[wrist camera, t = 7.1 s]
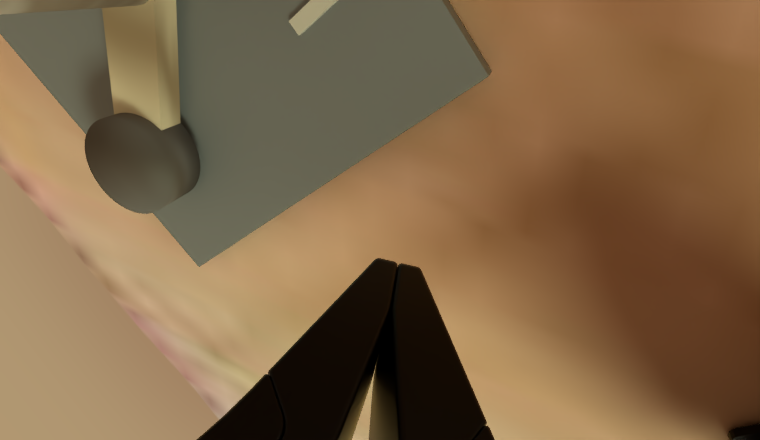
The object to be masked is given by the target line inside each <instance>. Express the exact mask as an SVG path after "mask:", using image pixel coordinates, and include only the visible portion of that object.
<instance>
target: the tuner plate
mask: <svg viewBox="0 0 760 440" xmlns="http://www.w3.org/2000/svg"><path fill="white" fill-rule="evenodd" d="M176 11H177V39H178V67H179V94H180V122H181V124H182V125H183V126H184V127H185V129H186V130H187V131H188V133H189V134H190V136H191V137H192V139H193V141H194V143H195V145H196V148H197V151H198V154H199V159H200V176H199V179H198V182H197V184H196V186H195V187H194V188H193V189H192V190H191V191H190V192H188V193H187V194H185V195H183V196H182V197H180V198H178V199H177V200H175V201H173V202H171V203H170V204H168V205H166V206H165V207H163V208H161V209H160V210H158V211H156V212H153V214H154V215H155V216H156V217H157V218H158V219H159V221H160V222H161V223H162V224H163V225H164V226H165V228H166V229H167V230H168V231H169V232H170V233H171V235H172V236H173V237H174V238H175V239H176V241H177V242H178V243H179V244H180V245H181V246H182V248H183V249H184V250H185V251H186V252H187V253H188V255H189V256H190V257H191V258H192V259H193V260H194V262H195V263H196V264H197V265H198V266H199V267H200V266H201V265H203V264H204V263H206V262H207V261H209V260H210V259H212V258H213V257H215V256H217V255H218V254H220V253H221V252H223V251H224V250H226V249H227V248H229V247H230V246H232V245H233V244H235V243H236V242H238V241H239V240H241V239H242V238H244V237H245V236H247V235H248V234H250V233H251V232H253V231H254V230H256V229H258V228H259V227H261V226H262V225H264V224H265V223H267V222H268V221H270V220H271V219H273V218H274V217H276V216H277V215H279V214H280V213H282V212H283V211H285V210H286V209H288V208H289V207H291V206H292V205H294V204H295V203H297V202H299V201H300V200H302V199H303V198H305V197H306V196H308V195H309V194H311V193H312V192H314V191H315V190H317V189H318V188H320V187H321V186H323V185H324V184H326V183H327V182H329V181H330V180H332V179H333V178H335V177H336V176H338V175H340V174H341V173H343V172H344V171H346V170H347V169H349V168H350V167H352V166H353V165H355V164H356V163H358V162H359V161H361V160H362V159H364V158H365V157H367V156H368V155H370V154H371V153H373V152H374V151H376V150H377V149H379V148H381V147H382V146H384V145H385V144H387V143H388V142H390V141H391V140H393V139H394V138H396V137H397V136H399V135H400V134H402V133H403V132H405V131H406V130H408V129H409V128H411V127H412V126H414V125H415V124H417V123H418V122H420V121H422V120H423V119H425V118H426V117H428V116H429V115H431V114H432V113H434V112H435V111H437V110H438V109H440V108H441V107H443V106H444V105H446V104H447V103H449V102H450V101H452V100H453V99H455V98H456V97H458V96H459V95H461V94H463V93H464V92H466V91H467V90H469V89H470V88H472V87H473V86H475V85H476V84H478V83H479V82H481V81H482V80H484V79H485V78H487V77H488V76H489V75H490V73H491V72H492V71H491V69H490V68H489V66H488V65H487V63H486V61H485V60H484V58H483V56H482V55H481V53H480V51H479V50H478V48H477V47H476V45H475V43H474V42H473V40H472V38H471V37H470V35H469V33H468V32H467V30H466V29H465V27H464V25H463V24H462V22H461V20H460V19H459V17H458V15H457V14H456V12H455V11H454V9H453V7H452V6H451V4H450V2H449V1H448V0H176ZM0 34H1V35H2V36H3V38H4V39H5V40H6V41H7V42H8V43H9V45H10V46H11V47H12V48H13V49H14V50H15V52H16V53H17V54H18V55H19V56H20V57H21V59H22V60H23V61H24V62H25V63H26V65H27V66H28V67H29V68H30V69H31V70H32V72H33V73H34V74H35V75H36V76H37V77H38V79H39V80H40V81H41V82H42V83H43V84H44V86H45V87H46V88H47V89H48V90H49V92H50V93H51V94H52V95H53V96H54V97H55V99H56V100H57V101H58V102H59V103H60V104H61V106H62V107H63V108H64V109H65V110H66V111H67V113H68V114H69V115H70V116H71V117H72V119H73V120H74V121H75V122H76V123H77V124H78V126H79V127H80V128H81V129H82V130H83V131H84V133H85V134H87V131H88V129H89V128H90V126H91V125H92V124H93V123H94V122H95V121H97V120H99V119H102V118H105V117H108V116H111V115H114V109H113V100H112V92H111V83H110V74H109V65H108V56H107V47H106V39H105V30H104V21H103V12H102V8H94V9H79V10H64V11H48V12H33V13H17V14H2V15H0Z"/></svg>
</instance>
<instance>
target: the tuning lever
mask: <svg viewBox="0 0 760 440" xmlns="http://www.w3.org/2000/svg"><path fill="white" fill-rule="evenodd" d="M94 8H102V12H103V21H104V30H105V39H106V47H107V56H108V65H109V74H110V83H111V92H112V100H113V109H114V115H111V116H108V117H105V118H102V119H99V120H97V121H95V122H94V123H93V124H92V125H91V126H90V128H89V129H88V131H87V134H86V138H85V154H86V158H87V162H88V165H89V167H90V170H91V172H92V174H93V176H94V178H95V179H96V181H97V182H98V184H99V185H100V187H101V188H102V189H103V190H104V191H105V193H106V194H107V195H108V196H109V197H110V198H112V199H113V200H114V201H115V202H116V203H118V204H119V205H121V206H123V207H124V208H126V209H128V210H131V211H133V212H137V213H144V214H148V213H153V212H156V211H158V210H160V209H161V208H163V207H165V206H166V205H168V204H170V203H171V202H173V201H175V200H177V199H178V198H180V197H182V196H183V195H185V194H187V193H188V192H190V191H191V190H192V189H193V188H194V187H195V186H196V184H197V182H198V179H199V176H200V159H199V154H198V151H197V148H196V145H195V143H194V141H193V139H192V137H191V136H190V134H189V133H188V131H187V130H186V129H185V127H184V126H183V125H182V124H181V122H180V94H179V67H178V39H177V11H176V0H0V15H2V14H17V13H33V12H48V11H64V10H79V9H94Z"/></svg>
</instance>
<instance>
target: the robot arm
mask: <svg viewBox="0 0 760 440" xmlns="http://www.w3.org/2000/svg"><path fill="white" fill-rule="evenodd" d="M375 366H376V367H375ZM374 370H375V373H374ZM373 374H374V381H373V391H372V404H371V417H370V430H369V440H494V437H493V435H492V433H491V430H490V428H489V427H488V426H486V423H487V422H486V419H485V417H484V415H483V412H482V410H481V408H480V405H479V403H478V401H477V398H476V396H475V394H474V391H473V389H472V387H471V384H470V382H469V380H468V377H467V375H466V373H465V371H464V368H463V366H462V364H461V361H460V359H459V357H458V354H457V352H456V350H455V347H454V345H453V343H452V340H451V338H450V336H449V333H448V331H447V329H446V326H445V324H444V322H443V319H442V317H441V315H440V313H439V310H438V308H437V306H436V303H435V301H434V299H433V296H432V294H431V292H430V289H429V287H428V285H427V282H426V280H425V278H424V275H423V273H422V271H421V269H420V268H419V267H416V266H411V265H407V264H403V263H401V264H399V265H398V267H397V263H396V262H394V261H389V260H385V259H381V258H377V259H375V260H374V261H373V262H372V263H371V264H370V265H369V266H368V267H367V268H366V270H365V271H364V272H363V273H362V274H361V275H360V276H359V277H358V278H357V279H356V280H355V281H354V282H353V283H352V284H351V285H350V286H349V287H348V288H347V289H346V290H345V292H344V293H343V294H342V295H341V296H340V297H339V298H338V299H337V300H336V301H335V302H334V303H333V304H332V305H331V306H330V307H329V308H328V309H327V310H326V311H325V312H324V314H323V315H322V316H321V317H320V318H319V319H318V320H317V321H316V322H315V323H314V324H313V325H312V326H311V327H310V328H309V329H308V330H307V331H306V332H305V333H304V334H303V336H302V337H301V338H300V339H299V340H298V341H297V342H296V343H295V344H294V345H293V346H292V347H291V348H290V349H289V350H288V351H287V352H286V353H285V354H284V355H283V356H282V358H281V359H280V360H279V361H278V362H277V363H276V364H275V365H274V366H273V367H272V368H271V369H270V370H269V372H268V374H266V375H264V376H263V377H262V378H261V379H260V380H259V381H258V382H257V383H256V384H255V386H254V387H253V388H252V389H251V390H250V391H249V392H248V393H247V394H246V395H245V396H244V397H243V398H242V399H241V400H240V401H239V402H238V403H237V404H236V405H235V406H233V407H232V408H231V409H230V410H229V411H228V412H227V413H226V414H225V415H224V416H223V417H222V418H221V419H220V420H219V421H217V422H216V423H215V424H214V425H213V426H212V427H211V428H210V429H208V430H207V431H206V432H205V433H204V434H203V435H202V436H200V437H199V438H198V439H197V440H352V437H353V434H354V431H355V428H356V425H357V422H358V420H359V417H360V414H361V411H362V408H363V405H364V402H365V399H366V396H367V393H368V390H369V387H370V384H371V381H372V377H373ZM728 438H729V440H760V424H757V425H752V426H746V427H740V428H735V429H732V430H731V431H729V433H728Z"/></svg>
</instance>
